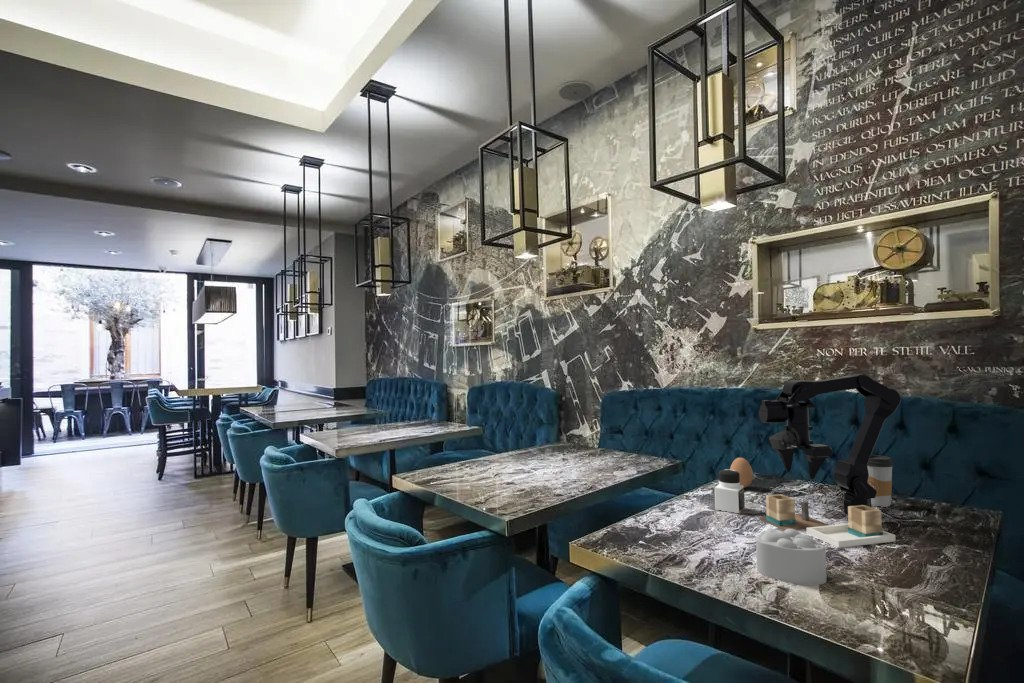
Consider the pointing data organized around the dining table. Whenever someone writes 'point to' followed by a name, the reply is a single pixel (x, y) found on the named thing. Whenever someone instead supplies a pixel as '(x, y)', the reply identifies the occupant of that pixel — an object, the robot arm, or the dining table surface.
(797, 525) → the pin board
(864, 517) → the sleeve
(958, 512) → the dining table surface
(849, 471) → the robot arm
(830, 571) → the dining table surface
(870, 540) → the feeder tray
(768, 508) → the oak sleeve
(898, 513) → the dining table surface
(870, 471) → the coffee cup
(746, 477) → the egg
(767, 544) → the lumpy-topped squat cylinder
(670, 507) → the dining table surface
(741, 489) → the medicine bottle
